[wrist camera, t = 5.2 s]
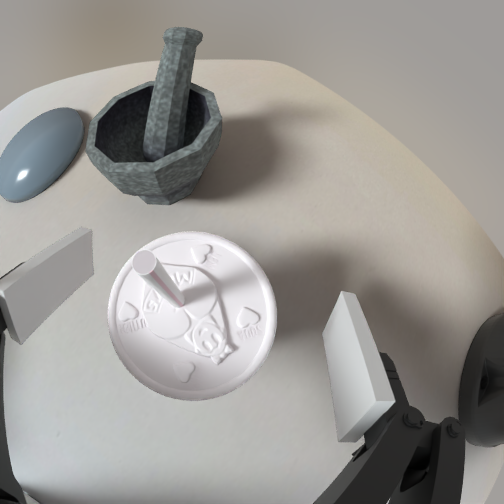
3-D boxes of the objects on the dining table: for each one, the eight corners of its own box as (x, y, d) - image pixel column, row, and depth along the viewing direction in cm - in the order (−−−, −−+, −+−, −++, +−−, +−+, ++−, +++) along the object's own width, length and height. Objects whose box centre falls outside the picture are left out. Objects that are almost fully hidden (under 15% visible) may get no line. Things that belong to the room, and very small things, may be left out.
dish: (77, 100, 26) (75, 93, 25) (93, 159, 23) (89, 151, 21) (1, 151, 23) (-3, 146, 21) (-1, 224, 19) (-7, 219, 18)
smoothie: (212, 269, 20) (193, 119, 7) (272, 336, 19) (375, 295, 6) (144, 325, 18) (7, 262, 5) (203, 395, 17) (151, 489, 4)
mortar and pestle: (187, 242, 20) (154, 124, 9) (95, 205, 21) (30, 105, 10) (242, 140, 25) (254, 26, 13) (158, 118, 25) (140, 18, 14)
